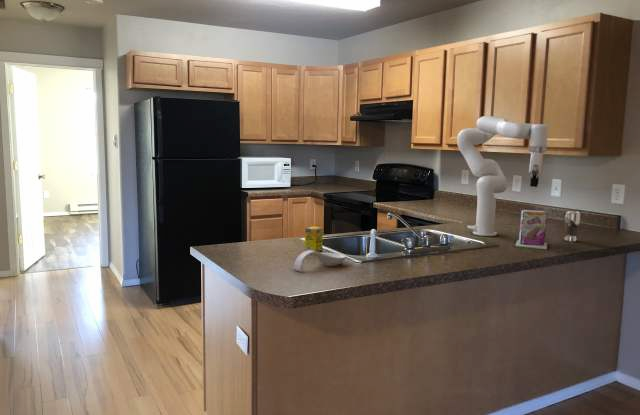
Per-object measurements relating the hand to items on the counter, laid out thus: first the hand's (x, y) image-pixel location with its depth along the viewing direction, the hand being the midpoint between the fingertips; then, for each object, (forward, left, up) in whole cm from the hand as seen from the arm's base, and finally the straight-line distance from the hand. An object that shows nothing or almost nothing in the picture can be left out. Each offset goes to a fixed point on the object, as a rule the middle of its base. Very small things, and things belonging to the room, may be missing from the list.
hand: (534, 185), depth 248 cm
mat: (+1, -2, -29) cm, 29 cm away
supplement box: (-87, -66, -29) cm, 113 cm away
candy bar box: (+1, -2, -29) cm, 29 cm away
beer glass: (+19, +20, -29) cm, 40 cm away
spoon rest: (-74, -88, -29) cm, 118 cm away
